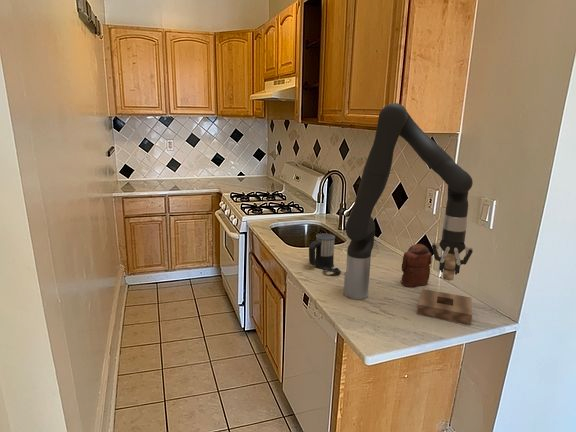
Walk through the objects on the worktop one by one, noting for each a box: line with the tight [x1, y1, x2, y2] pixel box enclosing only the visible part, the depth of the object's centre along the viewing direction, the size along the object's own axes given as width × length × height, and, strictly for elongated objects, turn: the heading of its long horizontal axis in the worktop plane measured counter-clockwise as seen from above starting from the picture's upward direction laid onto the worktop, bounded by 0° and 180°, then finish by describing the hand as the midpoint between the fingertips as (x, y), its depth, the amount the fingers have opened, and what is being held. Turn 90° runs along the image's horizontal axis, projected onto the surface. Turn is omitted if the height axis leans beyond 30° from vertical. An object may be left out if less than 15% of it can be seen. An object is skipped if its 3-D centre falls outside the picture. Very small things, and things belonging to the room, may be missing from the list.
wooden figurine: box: [400, 243, 433, 288], centre depth 164 cm, size 12×6×18 cm, turn 108°
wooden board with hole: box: [416, 288, 473, 326], centre depth 144 cm, size 18×14×4 cm
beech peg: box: [442, 253, 457, 281], centre depth 140 cm, size 4×4×10 cm
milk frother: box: [308, 233, 342, 275], centre depth 179 cm, size 14×16×15 cm
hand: (448, 272), depth 140 cm, fingers closed on beech peg, 4 cm apart
